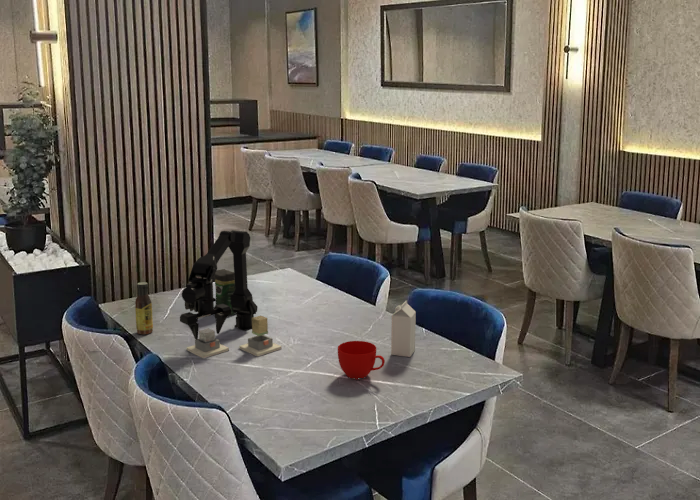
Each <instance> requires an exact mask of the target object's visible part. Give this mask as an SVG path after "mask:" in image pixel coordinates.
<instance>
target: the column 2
mask: <svg viewBox="0 0 700 500" xmlns="http://www.w3.org/2000/svg"><path fill="white" fill-rule="evenodd" d="M268 323H269V322H268V317H266V316H264V315H257V316H254V317H253V318H252V328H251V334H253V335H254V336H261V335H265V336H266V335H268V334H269V330H268V329H269V327H268Z"/></svg>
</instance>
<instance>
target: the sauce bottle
mask: <svg viewBox="0 0 700 500" xmlns="http://www.w3.org/2000/svg"><path fill="white" fill-rule="evenodd" d="M136 287H137V296H136V299H135V301H134V302H135V303H134V304H135V305H134V306H135V323H136V324H135V325H136V326H135V327H136V332H137V334H138V335H149V334H151V333H153V329H154V322H153V318H154V317H153V304H152V303H153V302H152V300H151V298H150V295H149V292H148V291H149V288H148V287H149V284H148V282H146V281H143V282H142V281H141V282H138V283H137V284H136Z"/></svg>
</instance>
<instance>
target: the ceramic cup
mask: <svg viewBox="0 0 700 500" xmlns="http://www.w3.org/2000/svg"><path fill="white" fill-rule="evenodd" d="M337 346H338V347H337V360H338V364H339V367H340V369H341V371H342V372H343V373H344V374H345V375H346V377H347V378H349V377H350V378H349V379H351V378H355V379H354V380H359V379H358V378H363V379H365V378H366V377H368V375H369V374H370V373H371V372H373V371H378V370H380V369H381V368H383V367H384V366H385V363H386V360H385V357H383V356H382V355H381V354H380V355H379V354H378V355H377V346H376V345H375V344H374V343H373V342H369V341H365V340H349V341H345V342H342V343H341V344H339V345H337ZM376 359H380V360H381V364H380V366H377V367H374V366H375V364H376ZM364 377H365V378H364Z"/></svg>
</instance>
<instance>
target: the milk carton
mask: <svg viewBox="0 0 700 500" xmlns="http://www.w3.org/2000/svg"><path fill="white" fill-rule="evenodd" d="M394 310H395V312H394V313H393V314H391V344H390V345H391V347H390V355H391V356H400V357H409V358H411V356H412V355H413V354H414V352H415V350H416V322H417V321H416V318H417V317H416V313H417V312H416V310H415V309H414V308H412V306H411V305H409V304H408V301H407V300H405V301H404V302H403V303H402V304H399V305H397V306H396V307H395V308H394Z"/></svg>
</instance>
